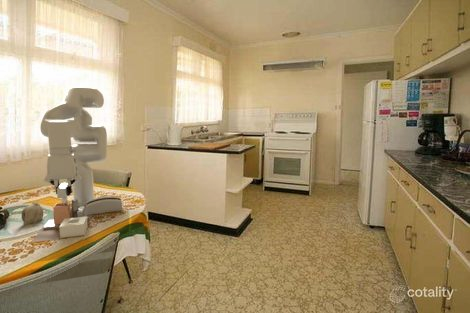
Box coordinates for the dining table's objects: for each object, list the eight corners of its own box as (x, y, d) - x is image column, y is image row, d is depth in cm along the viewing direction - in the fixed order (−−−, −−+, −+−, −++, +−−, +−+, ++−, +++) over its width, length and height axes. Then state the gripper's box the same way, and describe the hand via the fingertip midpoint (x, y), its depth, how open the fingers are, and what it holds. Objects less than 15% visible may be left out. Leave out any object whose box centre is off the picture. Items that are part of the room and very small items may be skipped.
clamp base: (49, 222, 115) (47, 199, 113) (88, 218, 120) (87, 196, 118) (43, 229, 107) (41, 205, 106) (85, 225, 113) (84, 202, 111)
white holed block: (65, 229, 108) (64, 218, 108) (87, 226, 111) (86, 216, 110) (60, 237, 101) (59, 226, 100) (84, 235, 104) (83, 224, 103)
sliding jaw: (58, 219, 115) (56, 202, 114) (73, 217, 117) (71, 201, 116) (54, 224, 109) (52, 207, 108) (70, 223, 111) (68, 206, 110)
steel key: (63, 205, 116) (61, 183, 114) (71, 204, 117) (69, 182, 115) (58, 212, 109) (56, 188, 107) (67, 211, 110) (65, 188, 108)
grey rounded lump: (32, 225, 120) (32, 203, 122) (50, 223, 120) (50, 200, 121) (13, 227, 111) (14, 203, 113) (33, 225, 110) (33, 200, 112)
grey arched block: (121, 208, 137) (122, 192, 132) (123, 214, 133) (123, 198, 129) (84, 214, 128) (83, 197, 124) (84, 221, 125) (83, 203, 120)
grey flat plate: (47, 224, 116) (47, 221, 115) (91, 220, 122) (91, 217, 121) (30, 246, 97) (30, 242, 97) (84, 239, 103) (83, 236, 103)
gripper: (85, 149, 115) (87, 191, 118) (40, 150, 109) (44, 194, 112) (81, 152, 108) (84, 196, 111) (33, 153, 103) (38, 199, 105)
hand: (64, 194), depth 112 cm, fingers closed on steel key, 2 cm apart
